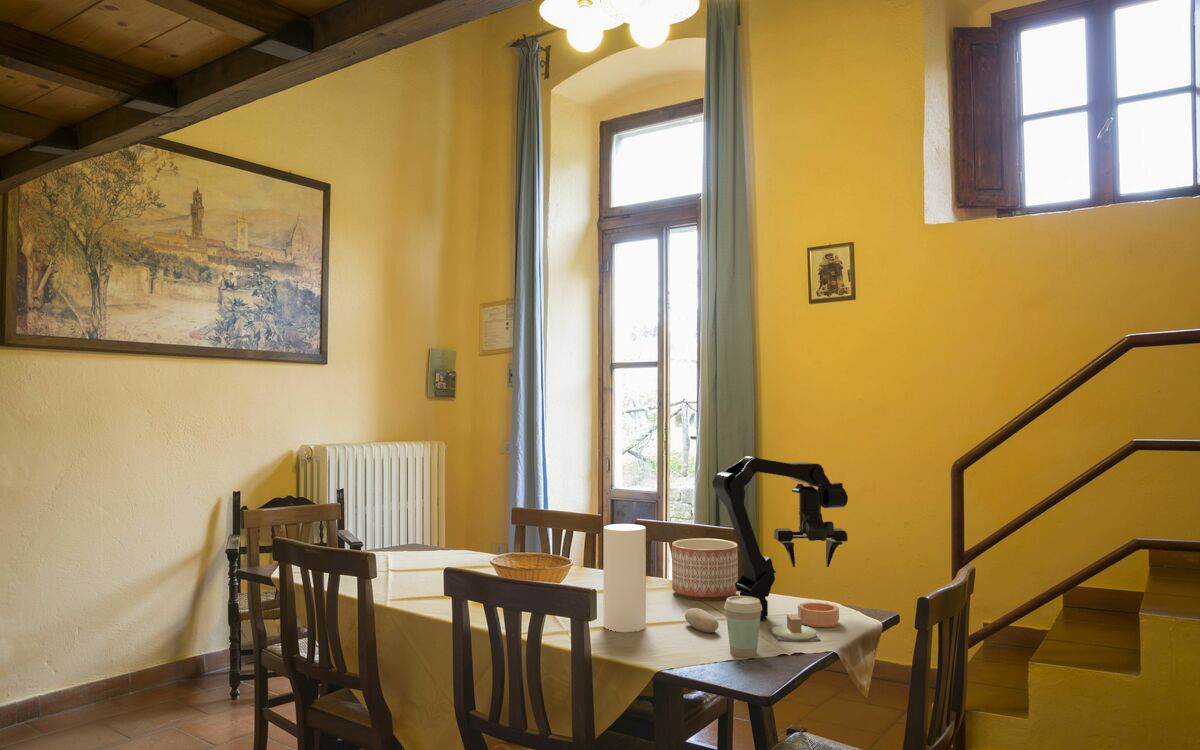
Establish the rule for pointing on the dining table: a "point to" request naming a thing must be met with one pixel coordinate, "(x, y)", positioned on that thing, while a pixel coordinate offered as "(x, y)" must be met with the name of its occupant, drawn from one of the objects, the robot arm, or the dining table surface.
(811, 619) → the bowl
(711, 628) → the stone
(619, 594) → the tall pillar cylinder
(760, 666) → the dining table surface
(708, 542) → the planter
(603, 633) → the dining table surface
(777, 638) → the mat
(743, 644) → the coffee cup
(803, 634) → the lid
